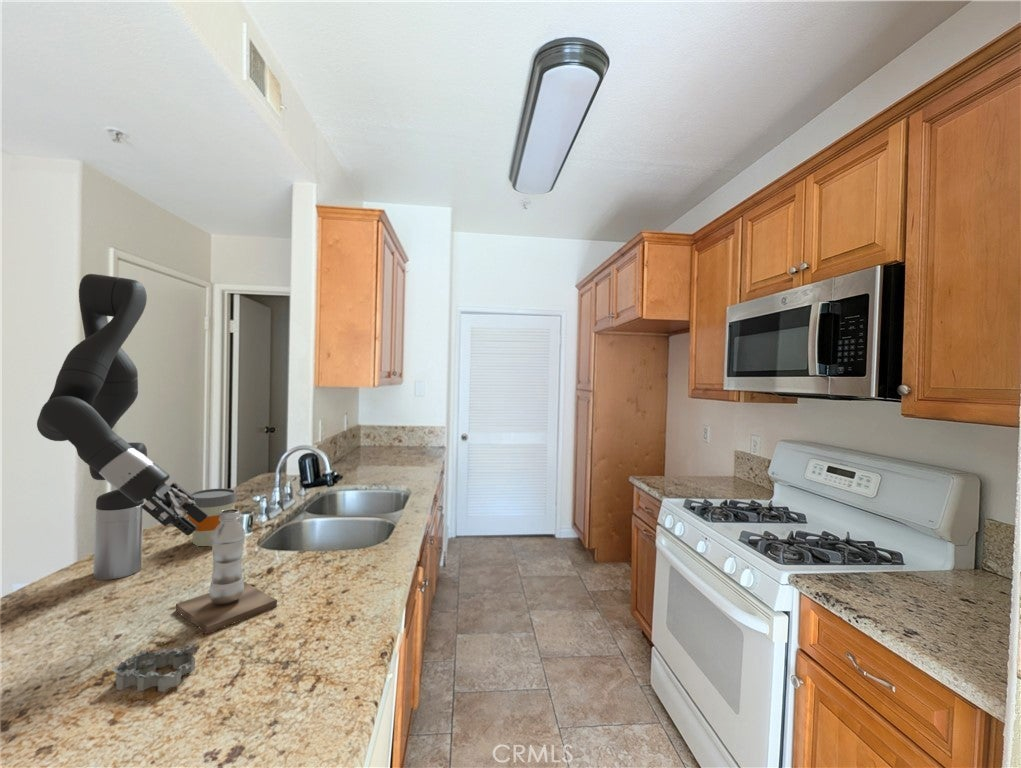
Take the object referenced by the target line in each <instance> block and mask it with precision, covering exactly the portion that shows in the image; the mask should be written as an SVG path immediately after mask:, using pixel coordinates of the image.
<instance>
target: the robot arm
mask: <svg viewBox="0 0 1021 768" xmlns="http://www.w3.org/2000/svg"><path fill="white" fill-rule="evenodd" d="M147 297H148V296H147V291H146V287H145V286H144V285H143V284H142V282H140V281H138V280H136V279H132V278H126V277H119V276H110V275H104V274H96V273H88V274H85V275H84V276H82V278H81V280H80V283H79V285H78V301H79V302H78V303H79V309H80V310H79V311H80V315H81V316H80V317H81V321H82V326H83V331H84V332H83V333H84V339H83V340H81V342H79V343H77V344H76V345H75V346H74V347H73V348H72V349H71V350H70V351H69V352H68V354H67V355H66V357H65V359H64V361H63V363H62V365H61V367H60V370H59V372H58V374H57V376H56V380H55V384H54V388H53V390H52V392H51V393H50V396H49V398H48V399H47V401H46V402H45V403H44V404H43V405H42V407H41V409H40V412H39V414H38V418H37V421H36V428H37V431H38V432H39V433H40V435H41V436H43V438H46V439H47V440H49V441H53V442H65V441H66V442H67V441H68V442H69V443H70V444H72V446H74V448H75V449H76V453H77V456H78V457H79V458H80V459H81V460H82V462H84V463H86V465H88V467H89V473H90V476H91V478H92V479H94V480H95V481H106V482H107V483H109V484H110V486H112V487H114V488H115V489H114V490H111V491H108V492H105V493H103V494H101V495H99V496H98V497H97V498H96V500H95V501H96V502H95V522H94V525H95V526H94V547H93V550H94V551H93V552H94V553H93V573H92V574H93V579H95V580H98V581H99V580H101V581H102V580H104V581H106V580H107V581H109V580H114V579H121V578H125V577H128V576H131V575H134V574H136V573H138V572H139V571H140V570H141V569H142V557H143V536H144V535H143V532H144V531H143V527H144V512H146V513H148V514H149V515H150V516H151V517H153V518H154V519H155V520H156V521H157V522H159V523H160V524H161V525H162V526H164V527H167V526H168V525H169V526H174V527H175V528H176V529H178V530H179V531H180V532H181V533H182V534H184V535H186V536H190V535H192V533H193V532H194V531H195V530H196V529H197V526H196V525H195V524H193V523H192V522H191V521H190V520H189V518H188V517H189V516H191V517H192V518H193V519H194V520H196V521H197V522H198V523H200V522H202V521H203V520H204V519H205V518H206V517H207V516H208V515H207V513H205V512H204V511H203V510H202V509H200V508H199V507H198V506H197V505H195V504H196V503H195V500H196V499H195V497H193V496H192V495H191V493H189V492H188V491H187V490H186V489H184V488H183V487H182V486H180V485H179V484H178V483H176V482H173V483H171V484H170V485H168V484H167V483H166V482H167V481H168V480H170V477H171V476H170V474H169V473H167V472H166V470H164V469H163V468H162V467H160V466H159V465H158V464H156V463H155V462H154V461H153V460H151V459H150V458H149V457H148V450H147V447H146V444H144V443H143V442H127V441H126V440H125V439H124V438H122V436H119V435H118V434H116V433H115V431H113V428H114V427H115V425H116V424H117V422H118V421H119V420H121V419H120V418H121V417H122V416H123V415H124V414H125V413H126V412H127V411H128V410H129V409H130V408H131V407H132V406H133V404H134V402H135V401H136V399H137V398H138V395H139V386H138V385H139V378H138V376H139V375H138V374H139V373H138V369H137V367H136V365H135V363H134V362H133V360H132V359H131V358H130V356H129V355H128V354H127V353H126V351H125V350H124V348H122V346H123V344H124V343H125V342H126V340H127V339H128V337H129V336H130V335H131V333H132V331H133V330H134V328H135V326H136V325H137V323H138V322H139V320H140V319H141V317H142V315H143V314H144V311H145V308H146V306H147V300H148V299H147ZM108 317H112V318H111V320H110V321H109V320H108ZM144 501H146V502H145V503H144ZM181 511H182V512H184V513H186V514H187V515H189V516H188V517H186V516H185V515H183V514H182V512H181ZM133 573H134V574H133Z"/></svg>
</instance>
